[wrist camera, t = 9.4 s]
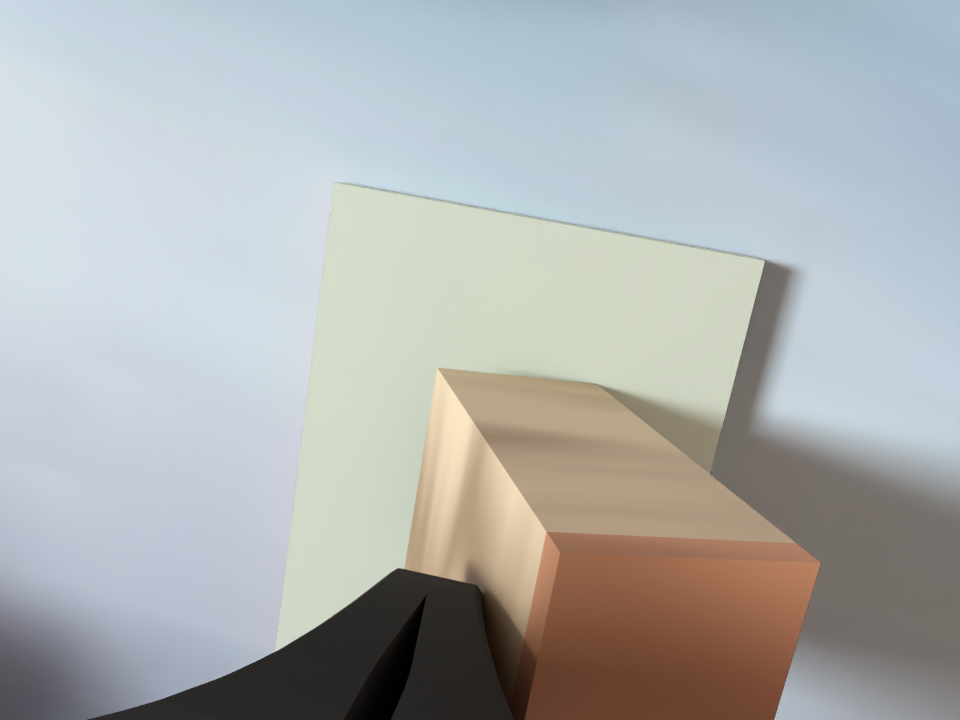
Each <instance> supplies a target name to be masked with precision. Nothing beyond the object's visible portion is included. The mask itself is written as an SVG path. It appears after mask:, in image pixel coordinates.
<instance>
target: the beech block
mask: <svg viewBox="0 0 960 720" xmlns="http://www.w3.org/2000/svg"><path fill="white" fill-rule="evenodd" d="M820 565H821V562H819V561H818V560H817V559H816V558H814V557H813V556H812V555H811V554H809V553H808V552H807V551H806V550H804V549H803V548H802V547H801V546H799V545H798V544H797V543H796V542H794V541H793V540H792V539H791V538H789V537H788V536H787V535H786V534H784V533H783V532H782V531H781V530H779V529H778V528H777V527H776V526H774V525H773V524H772V523H771V522H769V521H768V520H767V519H766V518H764V517H763V516H762V515H761V514H759V513H758V512H757V511H755V510H754V509H753V508H752V507H750V506H749V505H748V504H747V503H745V502H744V501H743V500H742V499H740V498H739V497H738V496H737V495H735V494H734V493H733V492H732V491H730V490H729V489H728V488H727V487H725V486H724V485H723V484H722V483H720V482H719V481H718V480H717V479H715V478H714V477H713V476H712V475H710V474H709V473H708V472H707V471H705V470H704V469H703V468H702V467H700V466H699V465H698V464H697V463H695V462H694V461H693V460H692V459H690V458H689V457H688V456H687V455H685V454H684V453H683V452H681V451H680V450H679V449H678V448H676V447H675V446H674V445H673V444H671V443H670V442H669V441H668V440H666V439H665V438H664V437H663V436H661V435H660V434H659V433H658V432H656V431H655V430H654V429H653V428H651V427H650V426H649V425H648V424H646V423H645V422H644V421H643V420H641V419H640V418H639V417H638V416H636V415H635V414H634V413H633V412H631V411H630V410H629V409H628V408H626V407H625V406H624V405H623V404H621V403H620V402H619V401H618V400H616V399H615V398H614V397H613V396H611V395H610V394H609V393H608V392H606V391H605V390H604V389H602V388H601V387H600V386H599V385H597V384H593V383H583V382H573V381H564V380H554V379H544V378H534V377H524V376H515V375H505V374H495V373H485V372H476V371H466V370H456V369H446V368H437V371H436V378H435V384H434V390H433V396H432V402H431V408H430V414H429V421H428V427H427V433H426V439H425V445H424V451H423V457H422V464H421V470H420V476H419V482H418V488H417V494H416V500H415V506H414V513H413V519H412V525H411V531H410V537H409V543H408V549H407V556H406V562H405V568H404V569H406V570H411V571H415V572H420V573H424V574H429V575H434V576H438V577H443V578H447V579H452V580H456V581H461V582H465V583H470V584H475V585H477V586H478V587H479V589H480V590H481V592H482V593H483V596H482V613H483V621H484V626H485V632H486V637H487V641H488V645H489V649H490V652H491V656H492V659H493V663H494V666H495V670H496V673H497V676H498V679H499V682H500V685H501V687H502V690H503V693H504V695H505V698H506V700H507V703H508V706H509V708H510V710H511V713H512V715H513V717H514V720H774V718H775V715H776V711H777V708H778V705H779V701H780V698H781V695H782V691H783V688H784V685H785V681H786V678H787V675H788V671H789V668H790V665H791V661H792V658H793V655H794V651H795V648H796V645H797V641H798V638H799V635H800V631H801V628H802V625H803V621H804V618H805V615H806V611H807V608H808V605H809V601H810V598H811V595H812V591H813V588H814V585H815V581H816V578H817V575H818V571H819V568H820Z"/></svg>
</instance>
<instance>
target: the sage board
mask: <svg viewBox="0 0 960 720" xmlns="http://www.w3.org/2000/svg"><path fill="white" fill-rule="evenodd" d="M764 263H765V261H764V260H762V259H759V258H757V257H752V256H746V255H741V254H735V253H730V252H724V251H719V250H713V249H708V248H702V247H697V246H691V245H686V244H680V243H675V242H669V241H664V240H658V239H653V238H647V237H642V236H636V235H631V234H625V233H620V232H614V231H609V230H603V229H598V228H592V227H587V226H581V225H576V224H570V223H565V222H559V221H554V220H548V219H543V218H537V217H532V216H526V215H521V214H515V213H510V212H504V211H499V210H493V209H488V208H482V207H477V206H471V205H466V204H460V203H455V202H449V201H444V200H438V199H433V198H427V197H422V196H416V195H411V194H405V193H400V192H394V191H389V190H383V189H378V188H372V187H367V186H361V185H355V184H350V183H334V186H333V194H332V202H331V210H330V218H329V226H328V234H327V242H326V250H325V258H324V266H323V274H322V282H321V290H320V298H319V306H318V314H317V322H316V330H315V338H314V346H313V354H312V362H311V370H310V378H309V386H308V394H307V402H306V410H305V418H304V426H303V434H302V442H301V450H300V457H299V465H298V473H297V481H296V489H295V497H294V505H293V513H292V521H291V529H290V537H289V545H288V553H287V561H286V569H285V577H284V585H283V593H282V601H281V609H280V617H279V625H278V633H277V641H276V649H275V652H276V651H278V650H279V649H281V648H283V647H284V646H286V645H288V644H289V643H291V642H293V641H294V640H296V639H298V638H299V637H301V636H302V635H304V634H306V633H307V632H309V631H311V630H312V629H314V628H315V627H317V626H319V625H320V624H322V623H323V622H324V621H326V620H327V619H329V618H330V617H332V616H333V615H334V614H336V613H337V612H339V611H340V610H342V609H343V608H344V607H346V606H347V605H349V604H350V603H352V602H353V601H354V600H356V599H357V598H358V597H360V596H361V595H362V594H364V593H365V592H366V591H367V590H369V589H370V588H371V587H373V586H374V585H375V584H376V583H378V582H379V581H380V580H381V579H383V578H384V577H385V576H387V575H388V574H389V573H391V572H392V571H394V570H396V569H397V568H402V569H404V568H405V562H406V556H407V549H408V543H409V537H410V531H411V525H412V519H413V513H414V506H415V500H416V494H417V488H418V482H419V476H420V470H421V464H422V457H423V451H424V445H425V439H426V433H427V427H428V421H429V414H430V408H431V402H432V396H433V390H434V384H435V378H436V371H437V368H446V369H456V370H466V371H476V372H485V373H495V374H505V375H515V376H524V377H534V378H544V379H554V380H564V381H573V382H583V383H593V384H597V385H599V386H600V387H601V388H602V389H604V390H605V391H606V392H608V393H609V394H610V395H611V396H613V397H614V398H615V399H616V400H618V401H619V402H620V403H621V404H623V405H624V406H625V407H626V408H628V409H629V410H630V411H631V412H633V413H634V414H635V415H636V416H638V417H639V418H640V419H641V420H643V421H644V422H645V423H646V424H648V425H649V426H650V427H651V428H653V429H654V430H655V431H656V432H658V433H659V434H660V435H661V436H663V437H664V438H665V439H666V440H668V441H669V442H670V443H671V444H673V445H674V446H675V447H676V448H678V449H679V450H680V451H681V452H683V453H684V454H685V455H687V456H688V457H689V458H690V459H692V460H693V461H694V462H695V463H697V464H698V465H699V466H700V467H702V468H703V469H704V470H705V471H707V472H708V473H709V474H710V473H711V469H712V465H713V461H714V457H715V453H716V449H717V445H718V442H719V438H720V434H721V430H722V426H723V422H724V418H725V414H726V410H727V407H728V403H729V399H730V395H731V391H732V387H733V383H734V379H735V375H736V372H737V368H738V364H739V360H740V356H741V352H742V348H743V344H744V340H745V337H746V333H747V329H748V325H749V321H750V317H751V313H752V309H753V306H754V302H755V298H756V294H757V290H758V286H759V282H760V278H761V274H762V271H763V267H764Z"/></svg>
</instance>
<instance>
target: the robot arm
mask: <svg viewBox="0 0 960 720" xmlns="http://www.w3.org/2000/svg"><path fill="white" fill-rule="evenodd" d="M482 596H483V593H482V592H481V590H480V589H479V587H478V586H477V585H475V584H470V583H465V582H461V581H456V580H452V579H447V578H443V577H438V576H434V575H429V574H424V573H420V572H415V571H411V570H406V569H402V568H397V569H396V570H394V571H392V572H391V573H389V574H388V575H387V576H385V577H384V578H383V579H381V580H380V581H379V582H378V583H376V584H375V585H374V586H373V587H371V588H370V589H369V590H367V591H366V592H365V593H364V594H362V595H361V596H360V597H358V598H357V599H356V600H354V601H353V602H352V603H350V604H349V605H347V606H346V607H344V608H343V609H342V610H340V611H339V612H337V613H336V614H334V615H333V616H332V617H330V618H329V619H327V620H326V621H324V622H323V623H322V624H320V625H319V626H317V627H315V628H314V629H312V630H311V631H309V632H307V633H306V634H304V635H302V636H301V637H299V638H298V639H296V640H294V641H293V642H291V643H289V644H288V645H286V646H284V647H283V648H281V649H279V650H278V651H276V652H274V653H272V654H270V655H268V656H266V657H264V658H262V659H260V660H258V661H256V662H254V663H252V664H250V665H248V666H245V667H243V668H241V669H239V670H237V671H235V672H232V673H230V674H228V675H226V676H223V677H221V678H218V679H216V680H213V681H210V682H208V683H205V684H202V685H199V686H197V687H194V688H191V689H188V690H186V691H183V692H180V693H178V694H175V695H172V696H169V697H167V698H164V699H161V700H158V701H155V702H152V703H148V704H145V705H141V706H138V707H134V708H131V709H127V710H124V711H120V712H116V713H112V714H108V715H104V716H100V717H96V718H92V719H88V720H514V717H513V715H512V713H511V710H510V708H509V706H508V703H507V700H506V698H505V695H504V693H503V690H502V687H501V685H500V682H499V679H498V676H497V673H496V670H495V666H494V663H493V659H492V656H491V652H490V649H489V645H488V641H487V637H486V632H485V626H484V621H483V613H482Z"/></svg>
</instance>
